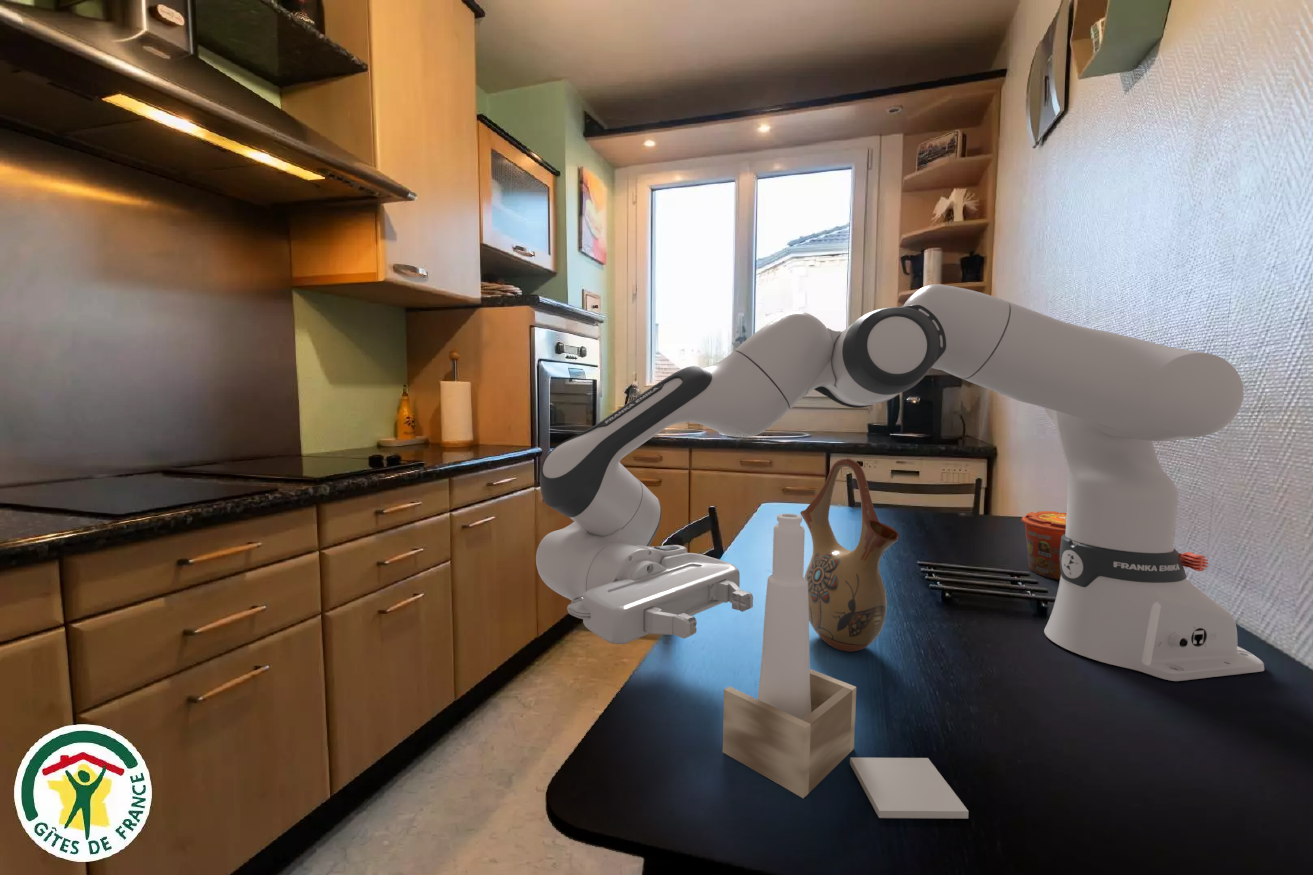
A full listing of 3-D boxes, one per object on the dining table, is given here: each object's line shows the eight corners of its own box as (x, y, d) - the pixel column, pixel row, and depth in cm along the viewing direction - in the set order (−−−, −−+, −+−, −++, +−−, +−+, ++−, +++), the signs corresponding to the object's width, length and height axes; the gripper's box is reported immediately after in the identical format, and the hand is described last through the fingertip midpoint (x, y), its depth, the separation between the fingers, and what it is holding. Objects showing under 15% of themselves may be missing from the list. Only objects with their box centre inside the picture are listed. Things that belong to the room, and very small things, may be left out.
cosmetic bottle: (829, 762, 50) (838, 521, 48) (769, 774, 48) (776, 524, 47) (794, 723, 56) (801, 507, 54) (739, 733, 54) (744, 510, 52)
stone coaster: (927, 764, 50) (928, 757, 50) (968, 818, 43) (968, 811, 43) (849, 763, 50) (850, 757, 50) (879, 817, 43) (879, 810, 43)
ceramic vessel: (916, 665, 68) (926, 463, 66) (860, 679, 65) (869, 466, 63) (825, 616, 83) (831, 451, 81) (776, 626, 80) (781, 453, 78)
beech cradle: (722, 752, 51) (724, 689, 51) (777, 712, 58) (778, 656, 57) (803, 798, 45) (805, 727, 45) (853, 748, 52) (856, 686, 51)
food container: (999, 562, 112) (1002, 510, 112) (1071, 561, 114) (1075, 509, 113) (1066, 590, 96) (1070, 529, 96) (1148, 587, 98) (1153, 528, 98)
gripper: (558, 577, 59) (649, 612, 49) (686, 542, 73) (776, 564, 64) (558, 635, 59) (649, 681, 49) (686, 588, 74) (776, 617, 64)
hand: (722, 615), depth 57 cm, fingers open, 8 cm apart
